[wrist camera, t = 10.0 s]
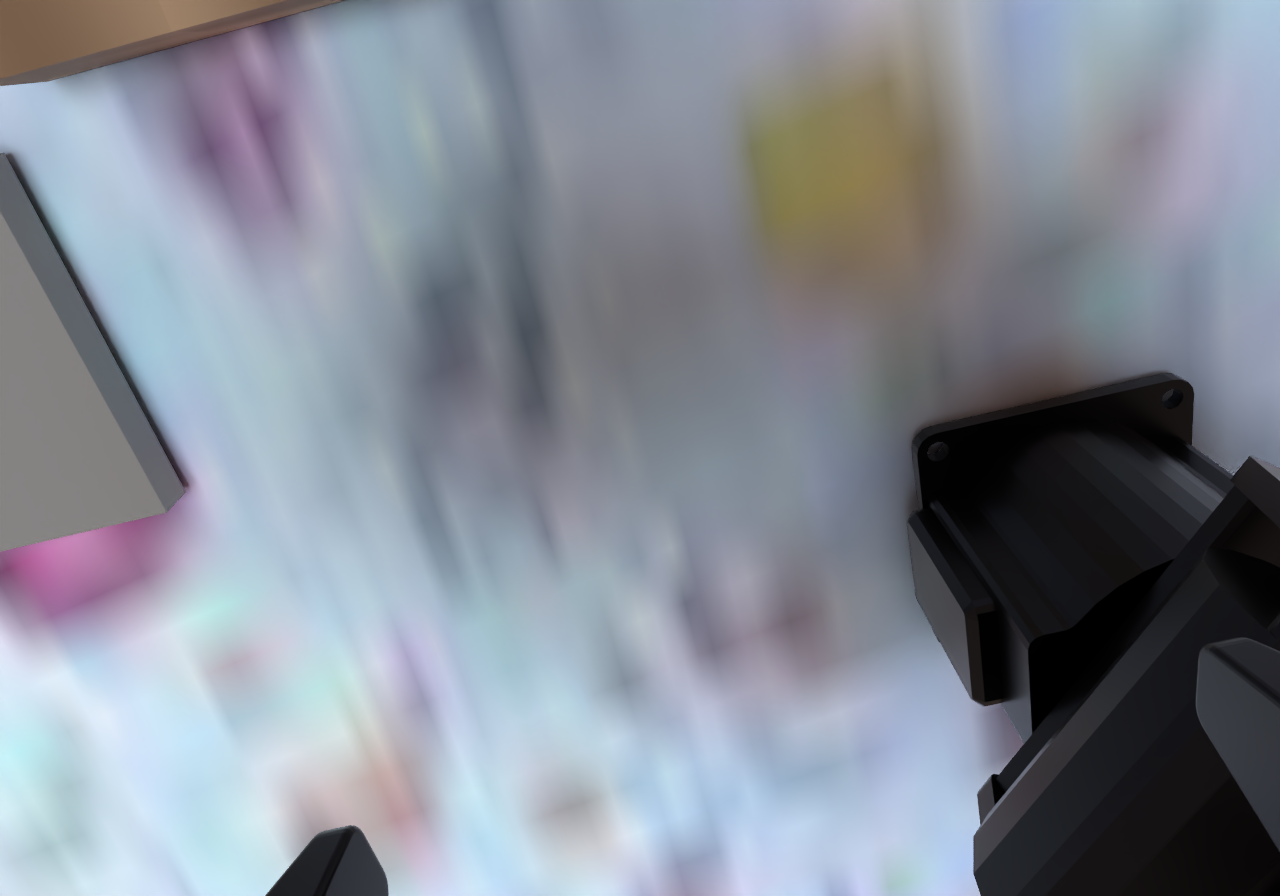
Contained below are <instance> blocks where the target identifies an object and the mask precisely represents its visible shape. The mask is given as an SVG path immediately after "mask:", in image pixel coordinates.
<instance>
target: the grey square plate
mask: <svg viewBox="0 0 1280 896" xmlns="http://www.w3.org/2000/svg"><path fill="white" fill-rule="evenodd" d="M185 492H186V491H185V489H184V488H183V486H182V484H181V482H180V480H179V478H178V476H177V475H176V473H175V471H174V469H173V467H172V465H171V463H170V461H169V460H168V458H167V456H166V454H165V452H164V450H163V448H162V447H161V445H160V443H159V441H158V439H157V437H156V435H155V433H154V432H153V430H152V428H151V426H150V424H149V422H148V420H147V419H146V417H145V415H144V413H143V411H142V409H141V407H140V405H139V404H138V402H137V400H136V398H135V396H134V394H133V392H132V391H131V389H130V387H129V385H128V383H127V381H126V379H125V377H124V376H123V374H122V372H121V370H120V368H119V366H118V364H117V363H116V361H115V359H114V357H113V355H112V353H111V351H110V350H109V348H108V346H107V344H106V342H105V340H104V338H103V336H102V335H101V333H100V331H99V329H98V327H97V325H96V323H95V322H94V320H93V318H92V316H91V314H90V312H89V310H88V308H87V307H86V305H85V303H84V301H83V299H82V297H81V295H80V294H79V292H78V290H77V288H76V286H75V284H74V282H73V280H72V279H71V277H70V275H69V273H68V271H67V269H66V267H65V266H64V264H63V262H62V260H61V258H60V256H59V254H58V252H57V251H56V249H55V247H54V245H53V243H52V241H51V239H50V238H49V236H48V234H47V232H46V230H45V228H44V226H43V224H42V223H41V221H40V219H39V217H38V215H37V213H36V211H35V210H34V208H33V206H32V204H31V202H30V200H29V198H28V196H27V195H26V193H25V191H24V189H23V187H22V185H21V183H20V182H19V180H18V178H17V176H16V174H15V172H14V170H13V168H12V167H11V165H10V163H9V161H8V159H7V157H6V155H5V154H4V153H1V154H0V551H5V550H9V549H13V548H17V547H22V546H26V545H30V544H35V543H39V542H43V541H47V540H52V539H56V538H60V537H64V536H69V535H73V534H77V533H82V532H86V531H90V530H94V529H99V528H103V527H107V526H111V525H116V524H120V523H124V522H129V521H133V520H137V519H141V518H146V517H150V516H154V515H158V514H163V513H167V512H168V511H169V510H170V508H171V507H172V506H173V505H174V504H175V503H176V502H177V501H178V500H179V499H180V497H181V496H182V495H183V494H184V493H185Z"/></svg>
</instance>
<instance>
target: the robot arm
mask: <svg viewBox="0 0 1280 896" xmlns="http://www.w3.org/2000/svg"><path fill="white" fill-rule="evenodd" d="M1172 389H1173V393H1172V396H1171V397H1170V398H1169V399H1168V400H1167V401H1164V402H1162V403H1161V400H1162V397H1163V395H1164V394H1165V393H1166V392H1168V391H1170V390H1172ZM1193 404H1194V392H1193V387H1192V386H1191V385H1190V384H1189V382H1187V381H1186V380H1184V379H1182V378H1181V377H1179V376H1177V375H1174V374H1172V373H1167V374H1159V375H1155V376H1150V377H1146V378H1142V379H1137V380H1133V381H1128V382H1124V383H1120V384H1115V385H1111V386H1106V387H1102V388H1097V389H1093V390H1089V391H1084V392H1080V393H1075V394H1071V395H1067V396H1062V397H1058V398H1053V399H1049V400H1045V401H1040V402H1036V403H1031V404H1027V405H1022V406H1018V407H1014V408H1009V409H1005V410H1000V411H996V412H992V413H987V414H983V415H978V416H974V417H969V418H965V419H961V420H956V421H952V422H947V423H943V424H939V425H934V426H930V427H928V428H925V429H923V430H922V431H920V432H919V433H918V434H917V435H916V437H915V438H914V440H913V443H912V455H913V464H914V473H915V482H916V491H917V500H918V509H919V510H916V511H913V513H912V514H911V516H910V517H909V519H908V521H907V527H908V536H909V544H910V552H911V561H912V569H913V578H914V586H915V594H916V599H917V601H918V603H919V604H920V606H921V608H922V610H923V612H924V614H925V615H926V617H927V619H928V621H929V623H930V625H931V626H932V629H933V632H934V634H935V636H936V637H937V639H938V641H939V642H940V643H941V645H942V647H943V648H944V650H945V652H946V654H947V656H948V658H949V659H950V661H951V663H952V665H953V667H954V669H955V670H956V672H957V674H958V676H959V678H960V680H961V681H962V683H963V685H964V687H965V689H966V691H967V692H968V694H969V696H970V698H971V699H972V700H974V701H975V702H977V703H978V704H980V705H981V706H988V705H993V704H998V703H1001V705H1002V707H1003V709H1004V710H1005V712H1006V714H1007V715H1008V717H1009V719H1010V721H1011V722H1012V724H1013V726H1014V727H1015V729H1016V731H1017V733H1018V734H1019V736H1020V738H1021V739H1022V741H1023V743H1024V745H1023V746H1022V747H1021V748H1020V750H1019V751H1018V752H1017V753H1016V755H1015V756H1014V757H1013V758H1012V760H1011V761H1010V762H1009V763H1008V764H1007V766H1006V767H1005V768H1004V769H1003V771H1002V772H1001V773H1000V774H999V775H997V774H993V775H991V777H990V778H989V779H988V780H987V782H986V783H985V784H984V785H983V787H982V788H981V789H980V790H979V791H978V794H977V796H978V806H979V815H980V824H981V826H980V827H979V829H978V830H977V832H976V833H975V835H974V876H975V879H976V882H977V885H978V888H979V891H980V894H981V896H1280V468H1278V467H1276V466H1273V465H1271V464H1269V463H1267V462H1264V461H1262V460H1260V459H1258V458H1255V457H1253V456H1249V457H1248V459H1247V460H1246V461H1245V462H1244V464H1243V465H1242V466H1241V467H1240V469H1239V470H1238V471H1237V472H1236V474H1235V475H1234V476H1233V475H1232V474H1230V473H1229V472H1227V471H1226V470H1225V469H1223V468H1222V467H1220V466H1219V465H1218V464H1216V463H1215V462H1213V461H1212V460H1211V459H1209V458H1208V457H1206V456H1205V455H1204V454H1202V453H1201V452H1199V451H1198V450H1197V449H1195V448H1194V447H1192V425H1193ZM936 442H943V445H942V448H941V449H940V450H939V451H938V452H936V453H934V454H927V452H928V449H929V447H930V446H931V445H932V444H934V443H936ZM265 896H388V883H387V878H386V875H385V872H384V870H383V868H382V866H381V865H380V863H379V861H378V859H377V857H376V855H375V854H374V852H373V850H372V848H371V846H370V844H369V843H368V841H367V839H366V837H365V835H364V834H363V832H362V831H361V829H359V828H358V827H356V826H351V825H350V826H345V827H340V828H336V829H331V830H326V831H323V832H321V833H319V834H317V835H316V836H315V837H314V838H313V839H312V840H311V841H310V843H309V844H308V845H307V846H306V847H305V849H304V850H303V851H302V852H301V853H300V855H299V856H298V857H297V858H296V859H295V861H294V862H293V863H292V864H291V865H290V867H289V868H288V869H287V870H286V871H285V873H284V874H283V875H282V876H281V877H280V879H279V880H278V881H277V882H276V883H275V885H274V886H273V887H272V888H271V889H270V891H269V892H268V893H267V894H266V895H265Z"/></svg>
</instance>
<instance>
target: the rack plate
mask: <svg viewBox="0 0 1280 896" xmlns="http://www.w3.org/2000/svg"><path fill="white" fill-rule="evenodd" d="M340 1H343V0H0V86H5V85H15V84H26V83H36V82H47V81H51V80H54V79H58V78H62V77H65V76H69V75H73V74H76V73H80V72H84V71H87V70H91V69H95V68H98V67H102V66H106V65H109V64H113V63H117V62H120V61H124V60H127V59H131V58H135V57H138V56H142V55H146V54H149V53H153V52H157V51H160V50H164V49H168V48H171V47H175V46H179V45H182V44H186V43H190V42H193V41H197V40H201V39H204V38H208V37H212V36H215V35H219V34H223V33H226V32H230V31H234V30H237V29H241V28H245V27H248V26H252V25H256V24H259V23H263V22H266V21H270V20H274V19H277V18H281V17H285V16H288V15H292V14H296V13H299V12H303V11H307V10H310V9H314V8H318V7H321V6H325V5H329V4H332V3H336V2H340Z"/></svg>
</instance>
